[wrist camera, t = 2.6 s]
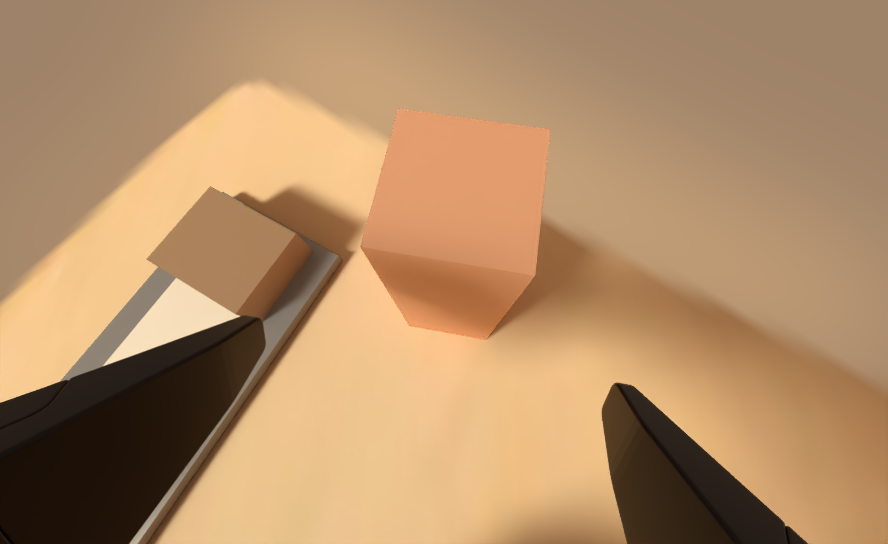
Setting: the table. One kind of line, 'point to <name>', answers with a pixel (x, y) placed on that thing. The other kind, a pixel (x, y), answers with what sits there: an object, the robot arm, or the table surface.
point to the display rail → (271, 350)
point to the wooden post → (457, 219)
